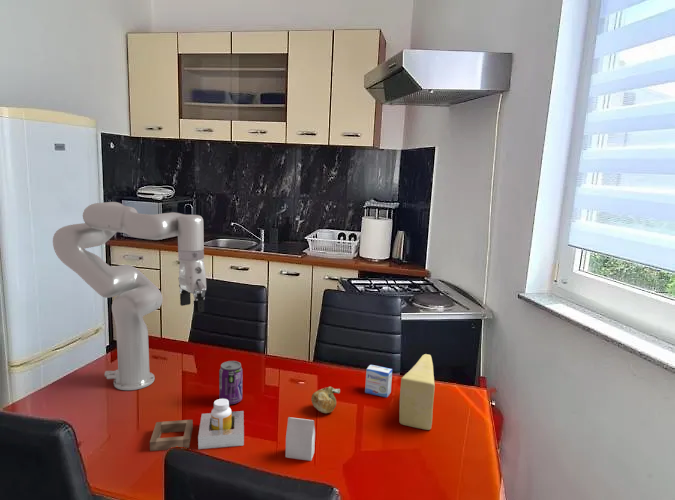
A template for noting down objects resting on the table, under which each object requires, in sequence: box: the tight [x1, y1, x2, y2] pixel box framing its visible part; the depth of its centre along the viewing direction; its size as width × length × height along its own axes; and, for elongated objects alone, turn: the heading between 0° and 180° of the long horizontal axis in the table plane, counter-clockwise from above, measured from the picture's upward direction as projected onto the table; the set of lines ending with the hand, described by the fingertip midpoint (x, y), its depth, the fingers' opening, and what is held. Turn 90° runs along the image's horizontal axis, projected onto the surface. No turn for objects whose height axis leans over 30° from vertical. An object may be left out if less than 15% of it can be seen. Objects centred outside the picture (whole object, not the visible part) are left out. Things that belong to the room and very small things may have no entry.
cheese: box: [398, 353, 436, 431], centre depth 143 cm, size 22×10×15 cm, turn 161°
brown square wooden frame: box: [149, 419, 194, 452], centre depth 123 cm, size 10×10×2 cm
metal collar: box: [197, 410, 245, 450], centre depth 126 cm, size 12×12×4 cm
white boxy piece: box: [285, 416, 316, 462], centre depth 118 cm, size 4×7×10 cm, turn 81°
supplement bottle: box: [210, 399, 233, 431], centre depth 126 cm, size 5×5×10 cm
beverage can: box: [218, 360, 244, 406], centre depth 144 cm, size 7×7×12 cm
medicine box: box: [364, 364, 393, 399], centre depth 153 cm, size 8×4×9 cm, turn 68°
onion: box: [311, 386, 341, 414], centre depth 141 cm, size 8×8×8 cm
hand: (192, 308), depth 145 cm, fingers open, 9 cm apart
